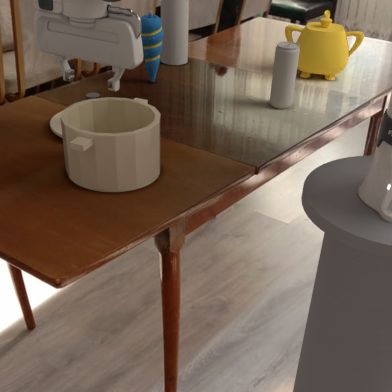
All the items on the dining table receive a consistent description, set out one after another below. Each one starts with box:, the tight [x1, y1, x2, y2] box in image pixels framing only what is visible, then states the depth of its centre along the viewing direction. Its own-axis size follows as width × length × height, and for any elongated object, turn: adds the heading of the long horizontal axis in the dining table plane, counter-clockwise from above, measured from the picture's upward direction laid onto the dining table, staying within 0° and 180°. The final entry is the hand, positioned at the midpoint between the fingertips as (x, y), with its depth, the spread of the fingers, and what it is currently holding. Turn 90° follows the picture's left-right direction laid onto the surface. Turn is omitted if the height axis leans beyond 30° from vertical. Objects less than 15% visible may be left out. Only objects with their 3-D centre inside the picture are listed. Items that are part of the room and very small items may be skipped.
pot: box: [60, 96, 162, 193], centre depth 104 cm, size 16×21×9 cm
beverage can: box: [269, 40, 300, 110], centre depth 128 cm, size 5×5×12 cm
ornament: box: [140, 7, 164, 83], centre depth 135 cm, size 5×5×15 cm
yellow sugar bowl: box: [284, 9, 365, 81], centre depth 145 cm, size 14×14×12 cm
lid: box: [49, 92, 101, 139], centre depth 118 cm, size 17×17×6 cm
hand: (91, 85), depth 115 cm, fingers open, 8 cm apart
